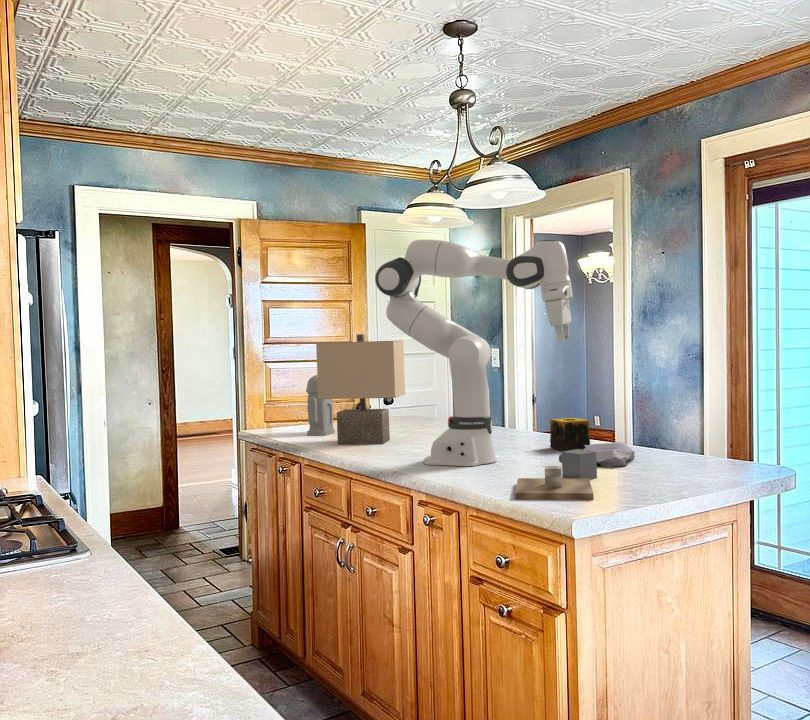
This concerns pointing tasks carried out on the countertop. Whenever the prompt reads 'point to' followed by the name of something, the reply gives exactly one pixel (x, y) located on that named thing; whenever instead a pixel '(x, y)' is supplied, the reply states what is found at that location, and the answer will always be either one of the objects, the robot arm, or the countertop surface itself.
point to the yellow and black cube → (569, 434)
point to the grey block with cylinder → (578, 464)
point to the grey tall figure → (318, 411)
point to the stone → (611, 453)
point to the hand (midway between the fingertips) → (563, 340)
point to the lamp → (361, 384)
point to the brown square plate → (554, 486)
